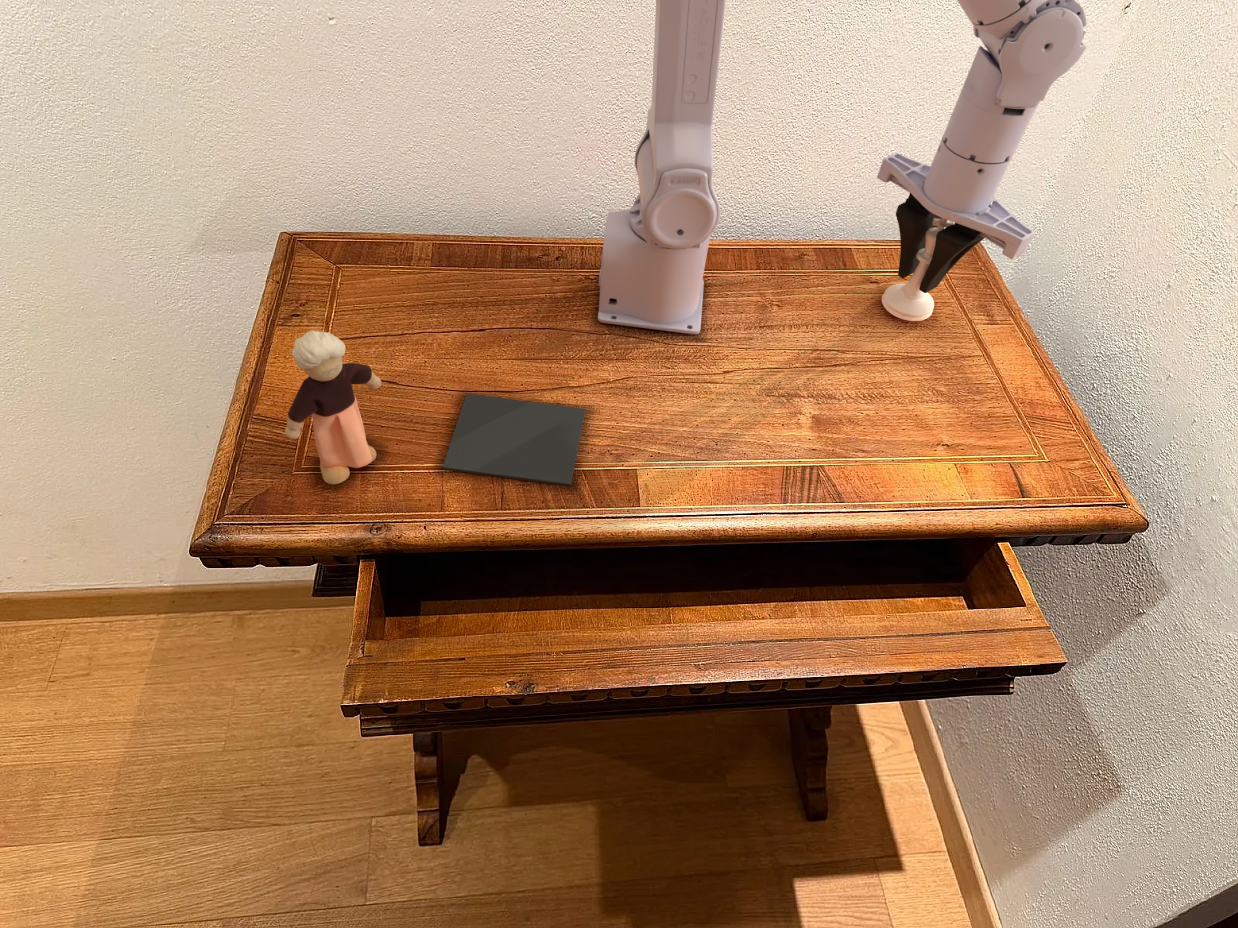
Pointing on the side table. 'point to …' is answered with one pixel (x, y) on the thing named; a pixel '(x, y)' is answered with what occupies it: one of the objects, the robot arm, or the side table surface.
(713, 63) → the robot arm
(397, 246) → the side table surface
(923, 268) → the chess piece
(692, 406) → the side table surface
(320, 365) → the grandmother figurine
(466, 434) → the felt mat
